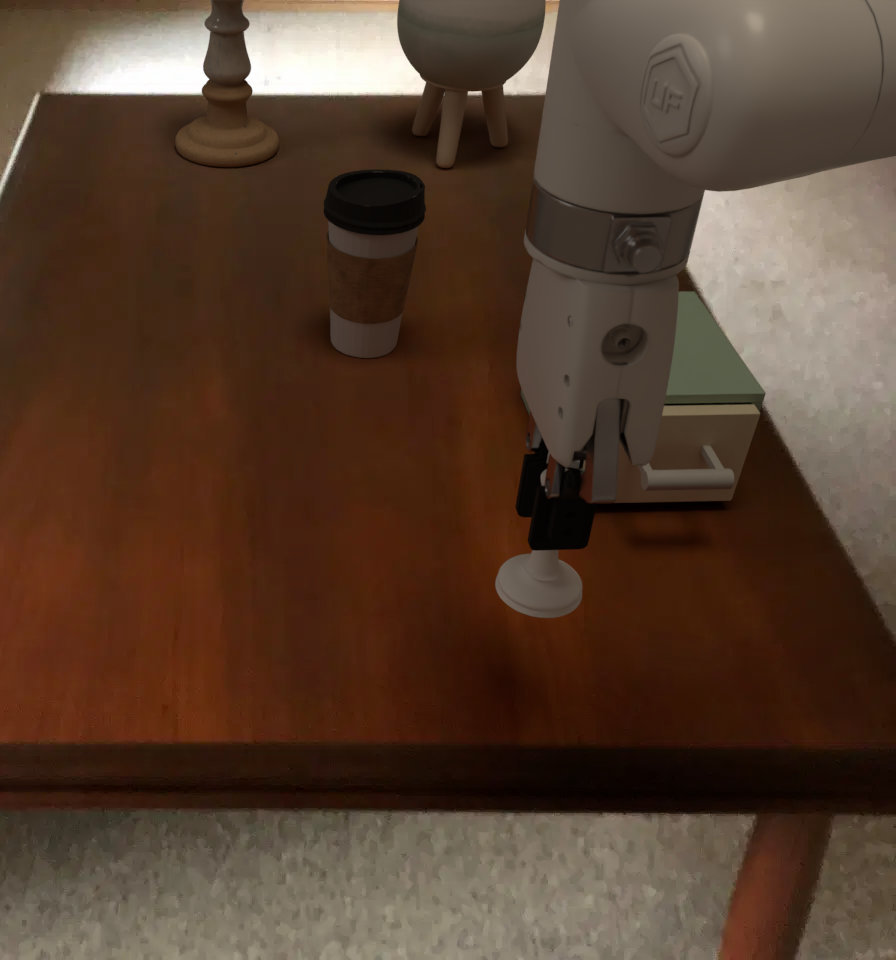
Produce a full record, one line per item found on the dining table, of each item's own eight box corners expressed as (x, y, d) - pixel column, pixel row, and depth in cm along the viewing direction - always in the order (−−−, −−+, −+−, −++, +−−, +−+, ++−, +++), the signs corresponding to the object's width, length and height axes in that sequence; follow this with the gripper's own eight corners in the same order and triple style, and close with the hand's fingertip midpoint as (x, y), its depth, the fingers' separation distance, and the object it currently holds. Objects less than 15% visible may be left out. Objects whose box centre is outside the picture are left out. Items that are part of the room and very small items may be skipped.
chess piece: (577, 626, 66) (610, 482, 60) (488, 607, 67) (512, 464, 61) (585, 571, 69) (617, 430, 63) (501, 554, 71) (524, 414, 65)
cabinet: (730, 500, 88) (766, 393, 82) (564, 503, 87) (588, 395, 82) (667, 391, 100) (694, 290, 94) (519, 394, 99) (538, 292, 93)
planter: (542, 142, 142) (576, -56, 129) (489, 188, 132) (520, -22, 118) (422, 114, 149) (442, -77, 135) (362, 156, 138) (377, -46, 125)
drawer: (753, 538, 83) (785, 449, 78) (594, 541, 83) (616, 452, 78) (671, 398, 97) (694, 315, 92) (535, 400, 97) (551, 317, 92)
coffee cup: (408, 370, 102) (426, 208, 92) (311, 361, 103) (319, 200, 93) (413, 321, 108) (430, 166, 99) (321, 313, 109) (330, 158, 100)
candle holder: (153, 150, 139) (146, -30, 126) (219, 120, 147) (218, -53, 134) (236, 177, 133) (236, -9, 121) (299, 144, 141) (306, -34, 128)
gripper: (757, 299, 48) (663, 627, 59) (637, 154, 61) (578, 446, 72) (576, 303, 48) (515, 632, 59) (493, 156, 61) (456, 449, 72)
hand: (550, 527), depth 65 cm, fingers closed on chess piece
